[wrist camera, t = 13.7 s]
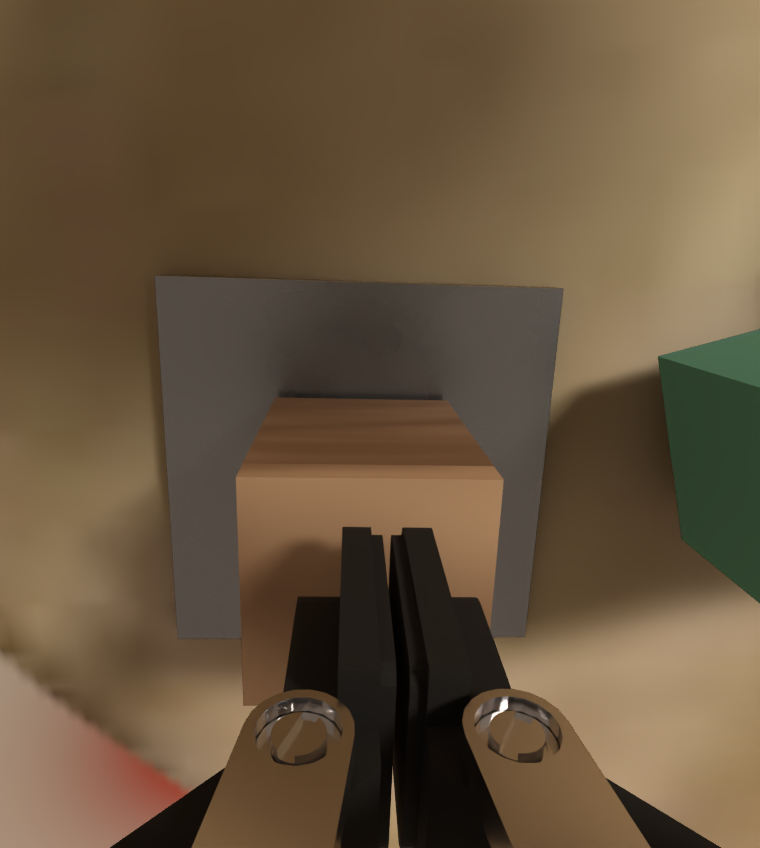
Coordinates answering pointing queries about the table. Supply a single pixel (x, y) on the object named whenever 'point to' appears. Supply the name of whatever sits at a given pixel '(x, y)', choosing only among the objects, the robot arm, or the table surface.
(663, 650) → the table surface
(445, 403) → the tan cardboard carton
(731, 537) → the toy
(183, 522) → the grey base plate
